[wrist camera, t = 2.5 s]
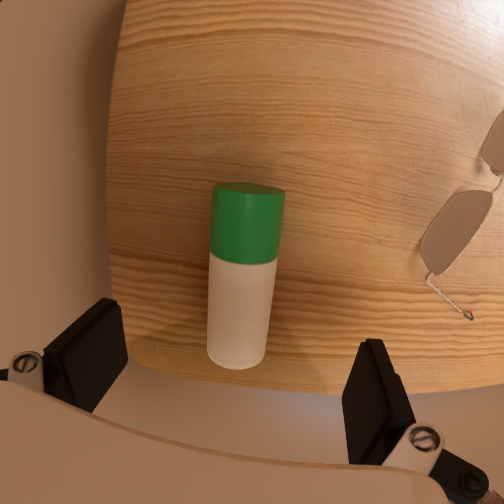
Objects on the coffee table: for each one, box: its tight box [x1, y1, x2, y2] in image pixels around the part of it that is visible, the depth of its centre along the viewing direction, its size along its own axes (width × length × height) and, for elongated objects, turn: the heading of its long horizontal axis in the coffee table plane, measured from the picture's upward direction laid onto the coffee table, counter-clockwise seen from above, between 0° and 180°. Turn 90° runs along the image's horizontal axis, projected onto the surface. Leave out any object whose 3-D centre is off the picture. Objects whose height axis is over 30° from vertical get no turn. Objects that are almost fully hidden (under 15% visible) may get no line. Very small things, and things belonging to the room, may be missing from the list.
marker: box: [207, 183, 285, 369], centre depth 17 cm, size 10×4×4 cm, turn 175°
